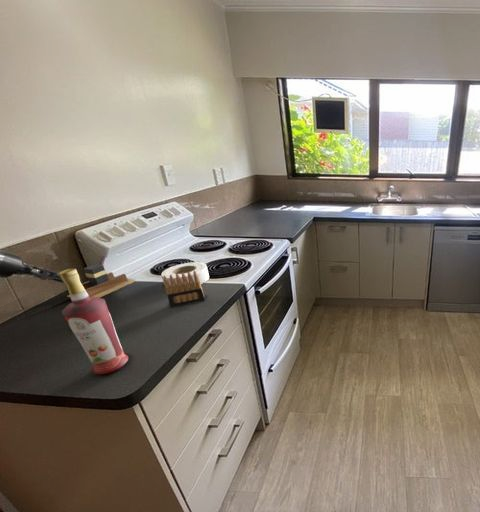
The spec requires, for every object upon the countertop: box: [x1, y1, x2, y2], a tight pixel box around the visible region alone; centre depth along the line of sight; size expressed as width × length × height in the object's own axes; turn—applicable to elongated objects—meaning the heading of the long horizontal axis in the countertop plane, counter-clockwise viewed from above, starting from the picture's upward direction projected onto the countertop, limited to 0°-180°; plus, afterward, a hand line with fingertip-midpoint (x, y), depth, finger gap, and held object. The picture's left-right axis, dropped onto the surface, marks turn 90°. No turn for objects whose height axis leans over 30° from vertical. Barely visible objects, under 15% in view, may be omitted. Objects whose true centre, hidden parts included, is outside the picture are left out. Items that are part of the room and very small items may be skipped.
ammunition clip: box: [162, 271, 206, 308], centre depth 102 cm, size 11×2×12 cm, turn 117°
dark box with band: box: [83, 263, 109, 287], centre depth 111 cm, size 4×4×9 cm
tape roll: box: [160, 261, 210, 290], centre depth 118 cm, size 16×16×6 cm
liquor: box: [58, 268, 129, 375], centre depth 69 cm, size 7×7×28 cm
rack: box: [66, 271, 135, 300], centre depth 112 cm, size 11×16×4 cm
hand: (56, 278), depth 99 cm, fingers open, 8 cm apart
